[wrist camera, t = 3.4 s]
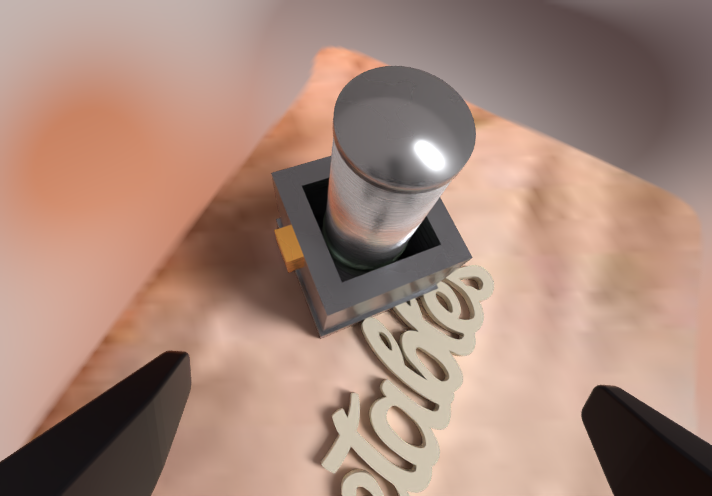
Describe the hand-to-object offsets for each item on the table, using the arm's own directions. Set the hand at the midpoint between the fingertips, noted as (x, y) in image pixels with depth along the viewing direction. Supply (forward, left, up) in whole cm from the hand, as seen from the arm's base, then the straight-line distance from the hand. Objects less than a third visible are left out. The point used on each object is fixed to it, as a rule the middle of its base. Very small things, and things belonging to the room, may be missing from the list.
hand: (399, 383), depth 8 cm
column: (+6, -3, -12) cm, 14 cm away
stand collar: (+6, -3, -13) cm, 15 cm away
